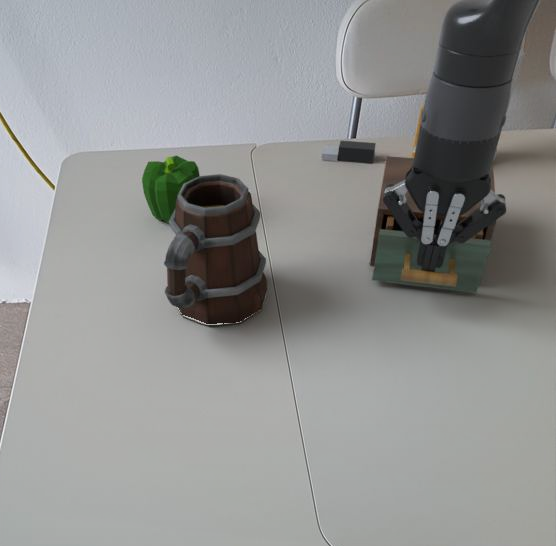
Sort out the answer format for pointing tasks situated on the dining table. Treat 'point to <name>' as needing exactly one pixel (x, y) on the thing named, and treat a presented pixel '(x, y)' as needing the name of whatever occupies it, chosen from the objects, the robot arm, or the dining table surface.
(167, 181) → the bell pepper
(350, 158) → the usb flash drive
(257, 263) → the mug
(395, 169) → the cabinet
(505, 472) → the dining table surface
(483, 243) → the drawer
